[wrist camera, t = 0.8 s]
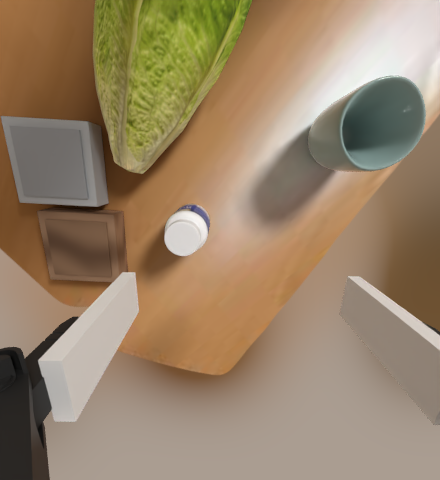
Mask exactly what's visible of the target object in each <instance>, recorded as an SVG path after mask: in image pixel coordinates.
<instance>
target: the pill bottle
mask: <svg viewBox="0 0 440 480" xmlns="http://www.w3.org/2000/svg"><path fill="white" fill-rule="evenodd" d="M209 227H210V218H209V215H208V213H207V212H206V210H205V209H204V208H202V207H201V206H199V205H196V204H187V205H184V206H182V207H180V208H179V209H178V210H177V211H176V212H175V213H174V214H173V215H172V216H171V217H170V218H169V219H168V221H167V223H166V225H165V236H164V240H165V244H166V246H167V248H168V249H169V250H170V251H171V252H172V253H174V254H176V255H179V256H188V255H191V254H193V253H194V252H195V251H196V250H198V249H199V248H201V247H202V246H203V245H204V243H205V242H206V239H207V236H208V231H209Z"/></svg>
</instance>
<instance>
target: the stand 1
mask: <svg viewBox="0 0 440 480" xmlns="http://www.w3.org/2000/svg"><path fill="white" fill-rule="evenodd" d="M1 120H2V124H3V129H4V133H5V138H6V143H7V147H8V152H9V156H10V161H11V165H12V170H13V174H14V179H15V183H16V188H17V193H18V197H19V202H20V203H38V204H57V205H75V206H94V207H98V206H101V205H105V204H108V193H107V182H106V172H105V162H104V152H103V142H102V131H101V126H99V125H96V124H94V123H91V122H88V121H74V120H58V119H42V118H25V117H9V116H1Z"/></svg>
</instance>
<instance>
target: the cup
mask: <svg viewBox="0 0 440 480" xmlns="http://www.w3.org/2000/svg"><path fill="white" fill-rule="evenodd" d="M425 116H426V112H425V104H424V100H423V97H422V95H421V93H420V91H419V89H418V88H417V86H416V85H415V84H414V83H413V82H412V81H410V80H409V79H407V78H405V77H401V76H386V77H382V78H378V79H375V80H373V81H371V82H368V83H366V84H364V85H362V86H360V87H359V88H357V89H355V90H354V91H352V92H350V93H349V94H347V95H345V96H344V97H342V98H341V99H339V100H337V101H336V102H334V103H333V104H331V105H330V106H329V107H328V108H326V109H325V110H324V111H323V112H322V113H321V114H320V115H319V116H318V117H317V118H316V120H315V121H314V122H313V124H312V126H311V128H310V131H309V135H308V147H309V151H310V153H311V155H312V157H313V158H314V160H315V161H316V162H317V163H318V164H319V165H321V166H323V167H324V168H327V169H331V170H335V171H346V172H369V171H376V170H381V169H384V168H387V167H389V166H392V165H394V164H395V163H397V162H399V161H400V160H402V159H403V158H404V157H406V156H407V155H408V154H409V153H410V152H411V151H412V150H413V149H414V147H415V146H416V144H417V143H418V141H419V140H420V137H421V135H422V133H423V129H424V125H425Z"/></svg>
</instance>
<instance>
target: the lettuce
mask: <svg viewBox="0 0 440 480" xmlns="http://www.w3.org/2000/svg"><path fill="white" fill-rule="evenodd" d="M251 2H252V0H96V1H95V8H94V30H93V63H94V73H95V84H96V91H97V95H98V99H99V103H100V108H101V112H102V116H103V119H104V122H105V125H106V129H107V132H108V137H109V143H110V148H111V151H112V154H113V158H114V162H115V163H116V164H118V165H119V166H121V167H122V168H124V169H125V170H127V171H129V172H134V173H141V174H143V173H144V172H145V171H147V170H148V169H149V168H150V167H151V166H152V165H153V164H154V162H155V161H156V160H157V159H158V157H159V156H160V155H161V154H162V153H163V152H164V151H165V149H166V148H167V147H168V146H169V145H170V144H171V143H172V142H173V141H174V140H175V139H176V138H177V137H178V136H179V134H180V133H181V132H182V131H183V130H184V128H185V127H186V125H187V123H188V122H189V120H190V118H191V117H192V115H193V114H194V112H195V110H196V109H197V107H198V106H199V104H200V103H201V102H202V100H203V99H204V97H205V96H206V95H207V93H208V92H209V90H210V89H211V88H212V86H213V85H214V83H215V82H216V81H217V79H218V77H219V75H220V73H221V71H222V69H223V67H224V65H225V63H226V61H227V59H228V57H229V55H230V53H231V51H232V49H233V47H234V45H235V43H236V41H237V39H238V37H239V35H240V33H241V31H242V28H243V25H244V22H245V20H246V17H247V14H248V11H249V8H250V5H251Z"/></svg>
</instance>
